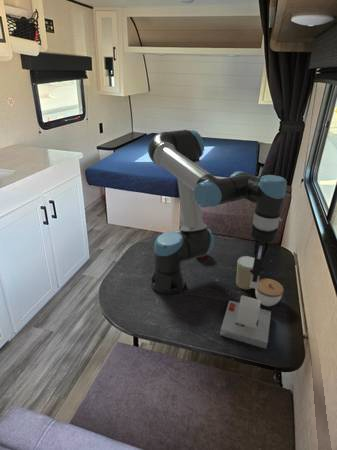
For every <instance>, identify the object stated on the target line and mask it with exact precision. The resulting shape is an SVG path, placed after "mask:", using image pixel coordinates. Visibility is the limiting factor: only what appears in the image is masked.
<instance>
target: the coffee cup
mask: <svg viewBox="0 0 337 450" xmlns="http://www.w3.org/2000/svg"><path fill="white" fill-rule="evenodd" d="M254 259H255V257H253V256H249V255H244V256H240V257H239V258H238V259H237V264H236V278H235V279H236V280H235V284H236V286H237V287H238V288H240V289H242V290H251V289H252V288H251V287H249V285H250V280H251V274H252V273H251V272H250V270H252V269H253V265H254Z"/></svg>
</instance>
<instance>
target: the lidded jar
mask: <svg viewBox="0 0 337 450" xmlns="http://www.w3.org/2000/svg"><path fill="white" fill-rule="evenodd" d="M254 289H255V288H254ZM284 290H285V289H284V286H283V285H282V284H281V283H280V282H278V281H277V280H275V279H272V278H267V277H266V278H259V283H258V287H257V289H255V290H254V293H255V297H256V298H255V299H258V300H261V304H260V305H262V306H264V307H272V306H275V305H277V304H278V303H280V300H281V299H282V296H283V293H284Z"/></svg>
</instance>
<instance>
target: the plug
mask: <svg viewBox="0 0 337 450" xmlns="http://www.w3.org/2000/svg"><path fill="white" fill-rule="evenodd" d="M238 303H239V308H238V314H237V319H236V323H238V325H240V326H242V325H246V326H249V327H253V328H256V324H257V320H258V315H259V310H260V309H261V305H262V304H261V300H258V299H257V298H253V297H250V296H246V295H240V300H239V302H238Z"/></svg>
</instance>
